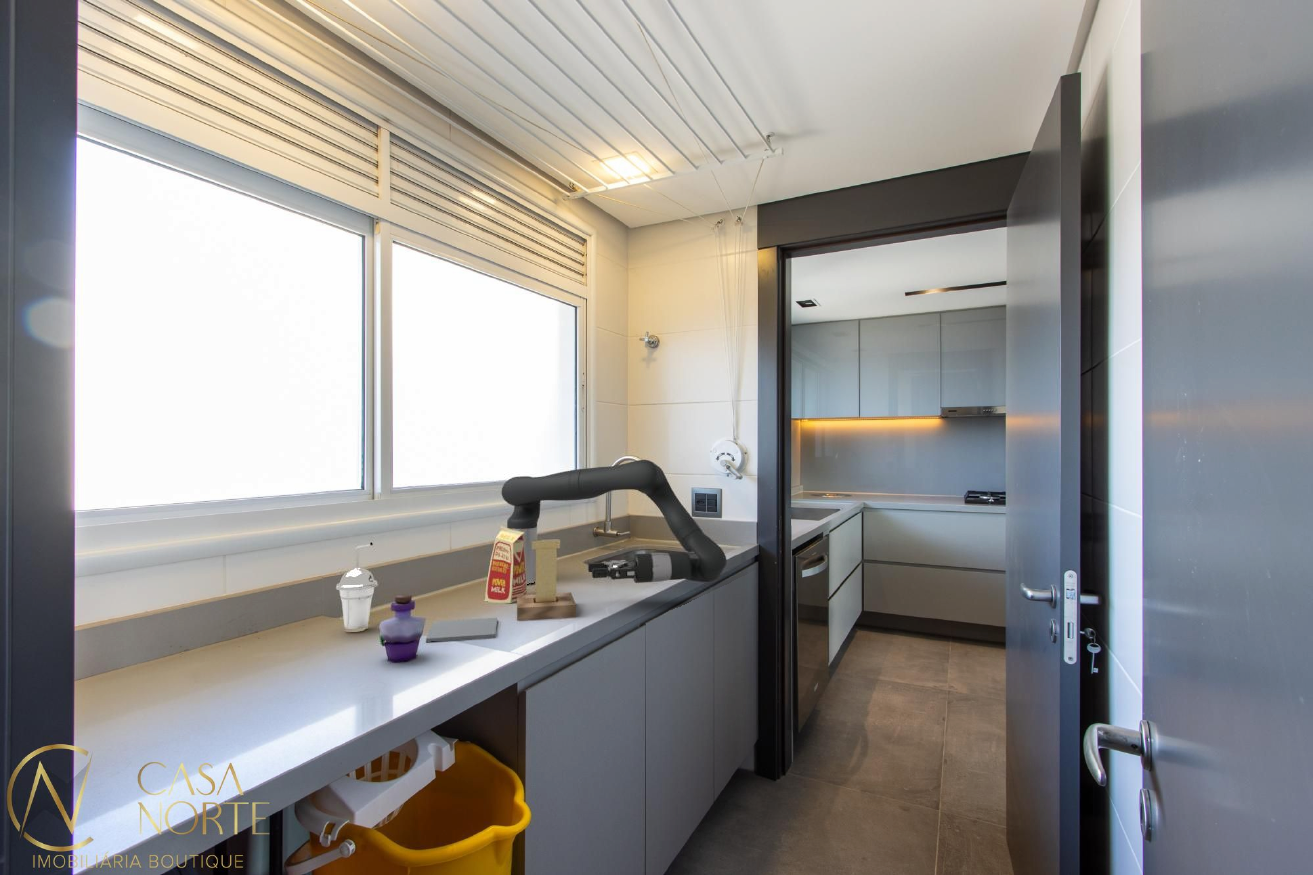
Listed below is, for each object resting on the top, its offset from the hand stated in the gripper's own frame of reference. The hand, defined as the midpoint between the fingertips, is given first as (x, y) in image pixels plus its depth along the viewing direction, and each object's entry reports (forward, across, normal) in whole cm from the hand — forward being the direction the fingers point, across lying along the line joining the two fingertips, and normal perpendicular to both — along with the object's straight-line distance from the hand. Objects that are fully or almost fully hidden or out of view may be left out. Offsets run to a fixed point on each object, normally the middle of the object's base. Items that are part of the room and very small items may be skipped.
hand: (590, 570), depth 153 cm
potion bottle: (+40, +29, +10) cm, 51 cm away
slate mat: (+30, +13, +10) cm, 34 cm away
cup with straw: (+54, +7, +10) cm, 55 cm away
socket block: (+11, 0, +10) cm, 15 cm away
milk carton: (+21, -17, +10) cm, 28 cm away
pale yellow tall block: (+11, 0, +10) cm, 15 cm away
